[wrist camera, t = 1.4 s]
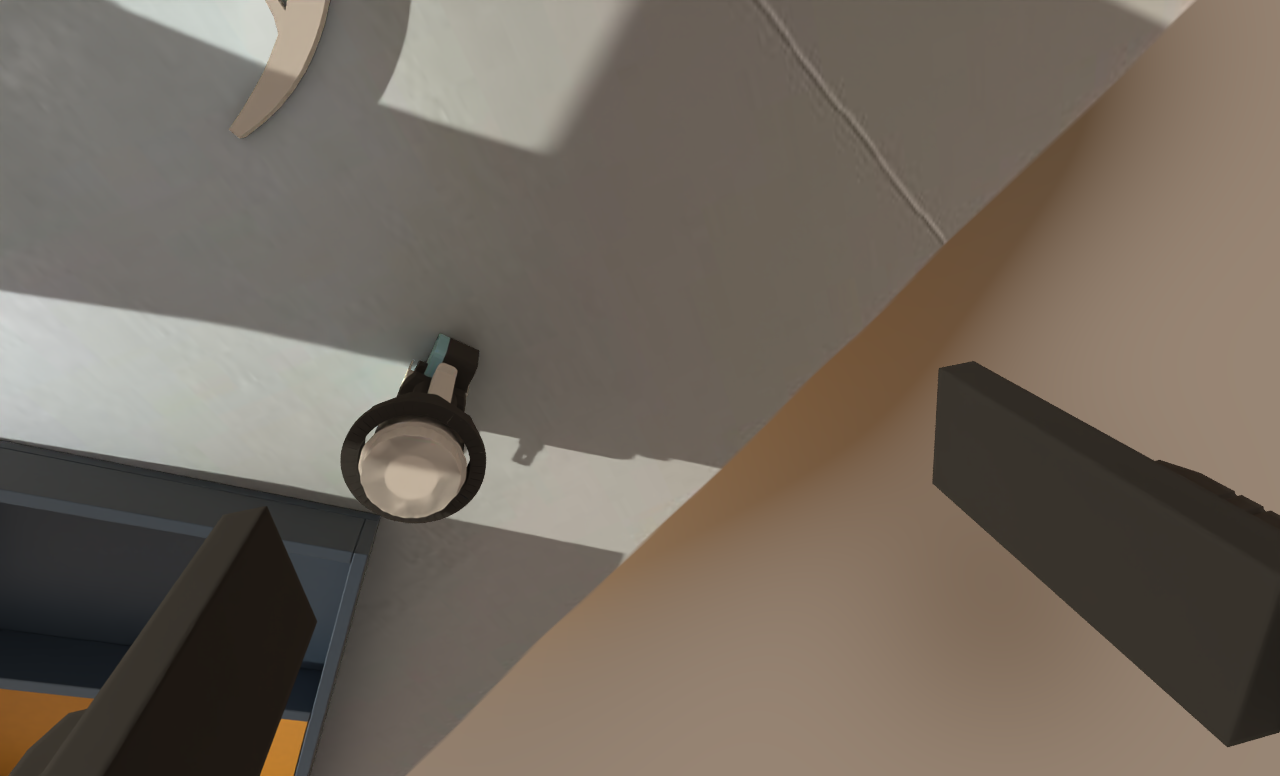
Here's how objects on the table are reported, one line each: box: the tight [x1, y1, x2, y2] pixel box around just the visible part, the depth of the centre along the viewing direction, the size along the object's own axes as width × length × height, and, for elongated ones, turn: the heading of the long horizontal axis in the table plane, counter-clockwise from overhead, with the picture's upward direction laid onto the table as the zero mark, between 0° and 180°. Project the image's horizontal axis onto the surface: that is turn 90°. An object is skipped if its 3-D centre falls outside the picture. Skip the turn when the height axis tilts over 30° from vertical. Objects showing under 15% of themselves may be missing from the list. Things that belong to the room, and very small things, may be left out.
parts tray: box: [0, 440, 381, 776], centre depth 35 cm, size 19×22×4 cm
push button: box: [341, 333, 486, 523], centre depth 29 cm, size 7×5×10 cm
